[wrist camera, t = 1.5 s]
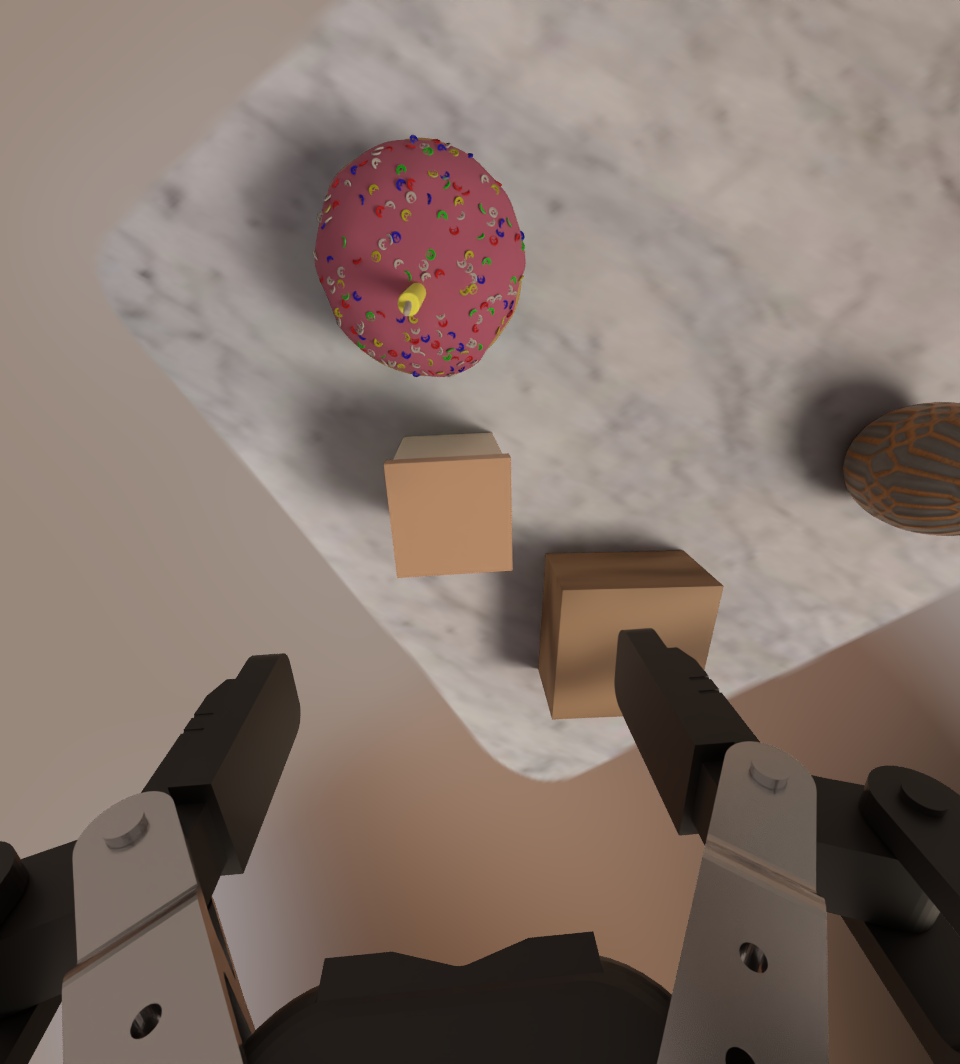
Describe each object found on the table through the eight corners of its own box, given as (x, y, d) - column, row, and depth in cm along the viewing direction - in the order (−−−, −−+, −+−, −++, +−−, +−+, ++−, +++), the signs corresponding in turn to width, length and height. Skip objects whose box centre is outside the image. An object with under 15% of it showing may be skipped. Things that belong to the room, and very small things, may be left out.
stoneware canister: (399, 433, 26) (383, 464, 20) (495, 428, 27) (510, 457, 20) (408, 522, 28) (397, 577, 22) (497, 517, 29) (512, 570, 22)
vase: (835, 526, 30) (977, 594, 22) (807, 435, 28) (955, 474, 20) (942, 471, 29) (1131, 522, 21) (922, 372, 27) (1128, 386, 19)
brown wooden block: (545, 552, 30) (562, 590, 25) (681, 548, 30) (723, 586, 26) (537, 666, 33) (552, 719, 29) (660, 662, 34) (694, 713, 29)
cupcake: (504, 374, 25) (548, 400, 14) (345, 366, 25) (261, 387, 14) (516, 183, 22) (585, 27, 11) (333, 168, 22) (212, -14, 10)
